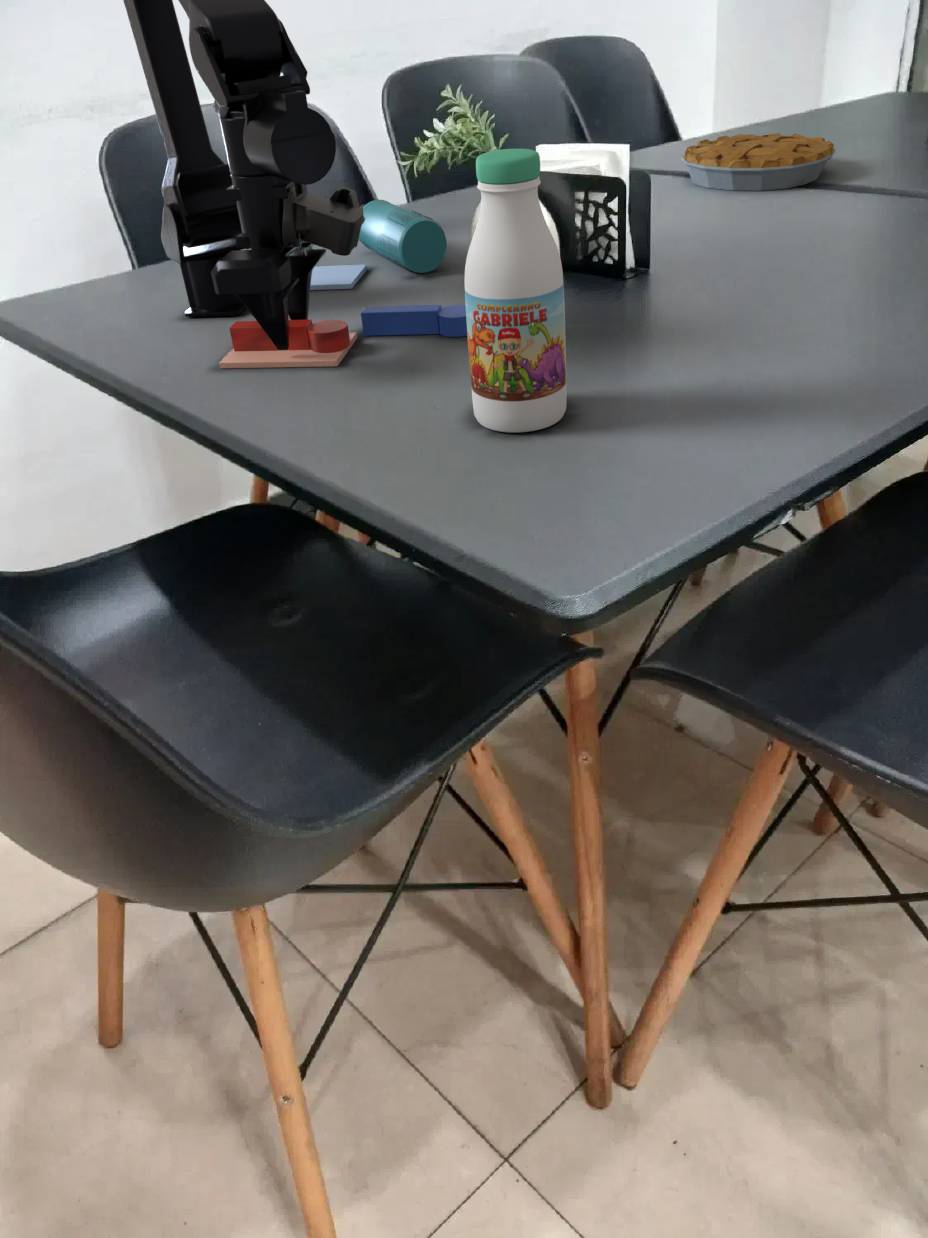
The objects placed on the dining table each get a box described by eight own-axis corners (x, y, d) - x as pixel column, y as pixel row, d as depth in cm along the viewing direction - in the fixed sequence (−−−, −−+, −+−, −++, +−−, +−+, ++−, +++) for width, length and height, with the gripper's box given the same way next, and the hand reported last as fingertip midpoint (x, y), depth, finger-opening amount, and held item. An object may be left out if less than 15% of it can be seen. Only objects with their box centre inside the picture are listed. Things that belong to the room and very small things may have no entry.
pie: (805, 196, 133) (810, 157, 131) (657, 189, 144) (658, 152, 141) (850, 164, 148) (855, 127, 145) (712, 159, 158) (714, 125, 156)
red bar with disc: (230, 354, 97) (225, 331, 95) (244, 340, 100) (239, 317, 99) (344, 352, 95) (341, 328, 93) (354, 338, 98) (351, 314, 97)
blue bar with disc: (361, 339, 99) (357, 315, 98) (370, 326, 103) (367, 303, 101) (474, 336, 97) (473, 312, 96) (480, 323, 101) (478, 300, 99)
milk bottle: (469, 402, 84) (449, 149, 72) (558, 393, 84) (552, 138, 72) (478, 440, 77) (457, 168, 66) (574, 429, 78) (570, 156, 66)
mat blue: (255, 291, 116) (254, 286, 116) (275, 272, 123) (275, 267, 123) (351, 288, 114) (350, 283, 114) (367, 269, 121) (366, 264, 120)
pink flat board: (220, 368, 96) (218, 362, 95) (247, 340, 102) (246, 334, 102) (337, 366, 94) (336, 360, 93) (357, 337, 100) (356, 331, 100)
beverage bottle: (430, 207, 111) (365, 180, 126) (392, 252, 112) (332, 220, 127) (464, 247, 116) (397, 216, 131) (428, 290, 116) (365, 254, 131)
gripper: (319, 188, 79) (347, 372, 88) (372, 145, 94) (391, 306, 103) (190, 195, 81) (231, 374, 90) (262, 151, 96) (291, 309, 105)
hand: (292, 338), depth 97 cm, fingers open, 6 cm apart
